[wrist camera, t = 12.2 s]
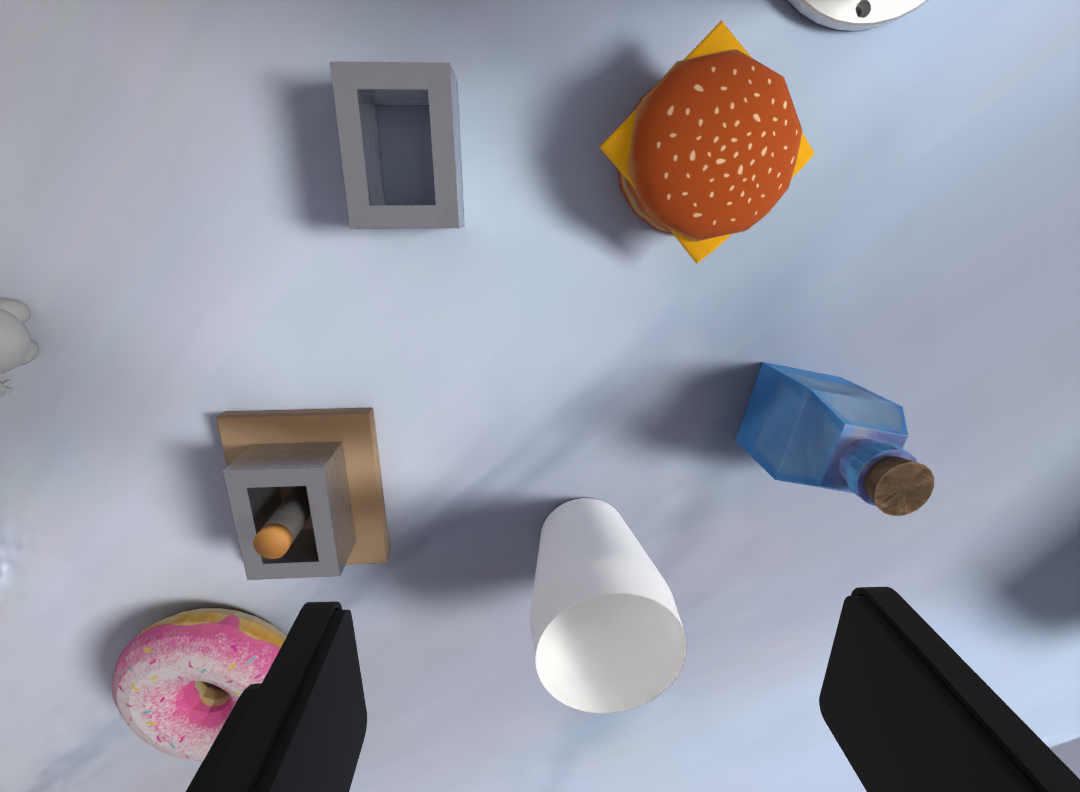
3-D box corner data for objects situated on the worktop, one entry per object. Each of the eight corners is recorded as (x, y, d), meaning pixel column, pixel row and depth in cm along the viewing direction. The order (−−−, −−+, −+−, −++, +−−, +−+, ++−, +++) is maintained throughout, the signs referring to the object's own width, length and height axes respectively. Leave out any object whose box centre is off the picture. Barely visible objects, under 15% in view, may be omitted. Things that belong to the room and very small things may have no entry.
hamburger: (581, 163, 32) (599, 149, 26) (697, 35, 30) (746, -14, 24) (679, 271, 35) (717, 281, 28) (792, 158, 33) (860, 142, 27)
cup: (540, 593, 42) (553, 730, 31) (512, 499, 39) (514, 612, 28) (648, 566, 42) (700, 695, 31) (628, 470, 39) (677, 573, 28)
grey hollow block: (352, 81, 30) (329, 61, 26) (457, 82, 30) (449, 62, 26) (368, 227, 33) (349, 228, 29) (464, 226, 33) (458, 227, 29)
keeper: (225, 411, 36) (159, 457, 29) (373, 407, 36) (342, 451, 30) (257, 558, 40) (206, 628, 33) (390, 553, 40) (366, 621, 33)
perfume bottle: (735, 440, 39) (828, 531, 28) (762, 361, 37) (874, 425, 26) (810, 453, 40) (931, 547, 28) (841, 377, 38) (984, 445, 26)
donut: (106, 656, 42) (56, 712, 37) (214, 561, 40) (175, 607, 35) (241, 742, 46) (211, 803, 41) (347, 660, 44) (327, 714, 39)
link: (252, 443, 35) (222, 470, 32) (342, 441, 36) (323, 467, 32) (273, 544, 38) (247, 580, 34) (356, 540, 38) (340, 576, 35)
